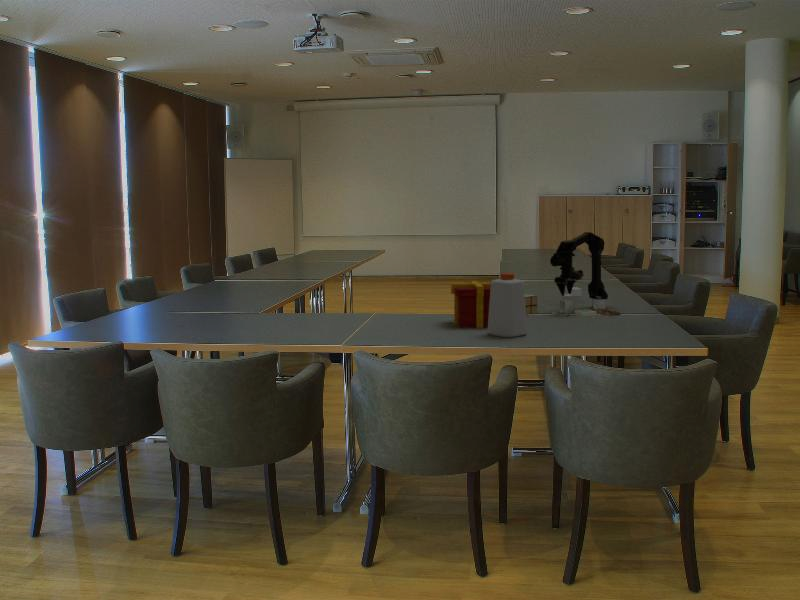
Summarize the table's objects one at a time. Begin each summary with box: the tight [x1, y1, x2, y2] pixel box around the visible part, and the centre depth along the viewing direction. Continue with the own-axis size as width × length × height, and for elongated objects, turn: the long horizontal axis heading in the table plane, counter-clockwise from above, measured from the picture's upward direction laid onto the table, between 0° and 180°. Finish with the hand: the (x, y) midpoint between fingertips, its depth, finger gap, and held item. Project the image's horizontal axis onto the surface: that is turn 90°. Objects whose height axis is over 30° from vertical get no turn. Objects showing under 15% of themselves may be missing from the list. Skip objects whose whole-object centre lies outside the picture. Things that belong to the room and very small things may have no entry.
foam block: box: [561, 286, 583, 303], centre depth 475 cm, size 10×10×8 cm
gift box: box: [450, 280, 491, 329], centre depth 392 cm, size 25×25×20 cm
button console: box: [574, 309, 598, 317], centre depth 413 cm, size 8×8×3 cm
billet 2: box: [592, 298, 607, 311], centre depth 420 cm, size 4×4×7 cm
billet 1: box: [559, 300, 573, 315], centre depth 419 cm, size 4×4×7 cm
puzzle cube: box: [525, 293, 538, 315], centre depth 426 cm, size 10×10×10 cm
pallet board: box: [588, 308, 622, 317], centre depth 416 cm, size 18×10×3 cm, turn 22°
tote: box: [550, 311, 575, 317], centre depth 419 cm, size 11×11×1 cm
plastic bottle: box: [486, 272, 528, 339], centre depth 362 cm, size 15×15×28 cm
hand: (566, 294), depth 418 cm, fingers open, 9 cm apart
